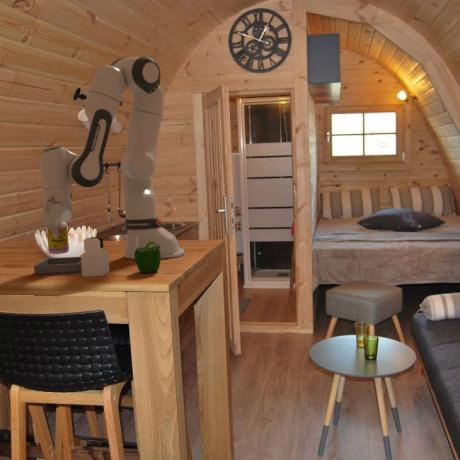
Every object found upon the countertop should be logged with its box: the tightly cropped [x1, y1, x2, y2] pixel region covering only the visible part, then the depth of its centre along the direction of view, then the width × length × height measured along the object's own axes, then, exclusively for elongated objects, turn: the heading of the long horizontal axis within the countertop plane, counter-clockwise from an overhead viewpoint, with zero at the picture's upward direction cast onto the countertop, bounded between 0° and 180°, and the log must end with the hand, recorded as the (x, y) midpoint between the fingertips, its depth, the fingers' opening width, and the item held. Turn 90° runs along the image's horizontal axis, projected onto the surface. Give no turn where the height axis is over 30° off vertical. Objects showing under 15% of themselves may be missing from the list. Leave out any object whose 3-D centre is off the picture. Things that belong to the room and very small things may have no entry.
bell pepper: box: [134, 241, 162, 274], centre depth 178 cm, size 8×8×10 cm
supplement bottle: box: [46, 215, 70, 255], centre depth 186 cm, size 7×7×13 cm
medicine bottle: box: [80, 236, 110, 278], centre depth 178 cm, size 7×7×12 cm
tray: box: [33, 256, 82, 276], centre depth 188 cm, size 15×13×3 cm
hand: (59, 236), depth 187 cm, fingers closed on supplement bottle, 7 cm apart
